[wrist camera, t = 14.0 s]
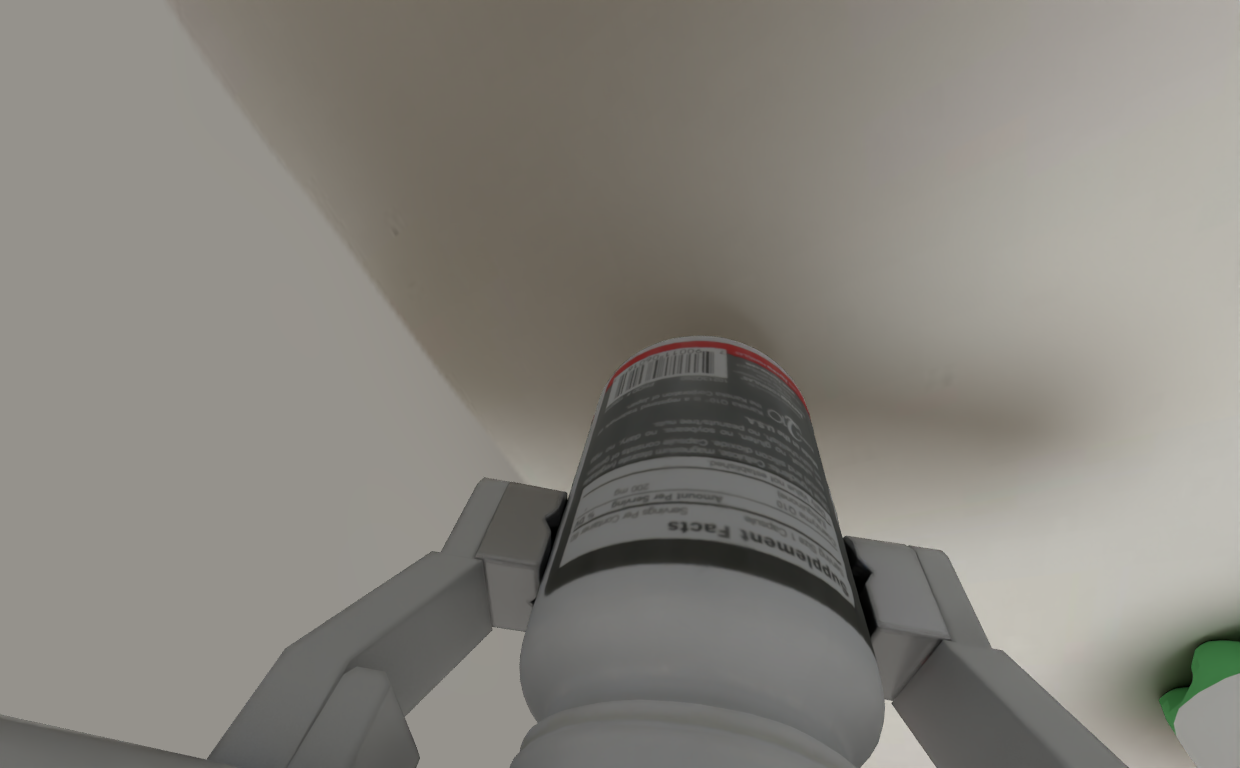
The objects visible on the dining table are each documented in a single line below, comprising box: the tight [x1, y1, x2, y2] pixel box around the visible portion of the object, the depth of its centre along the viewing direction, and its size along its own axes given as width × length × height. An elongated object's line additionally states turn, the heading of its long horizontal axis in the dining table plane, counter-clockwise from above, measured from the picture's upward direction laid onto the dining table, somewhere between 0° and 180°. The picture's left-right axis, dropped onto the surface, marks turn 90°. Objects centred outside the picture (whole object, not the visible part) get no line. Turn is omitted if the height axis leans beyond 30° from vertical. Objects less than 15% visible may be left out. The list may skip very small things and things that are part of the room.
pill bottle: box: [510, 336, 885, 768], centre depth 8 cm, size 5×5×8 cm
